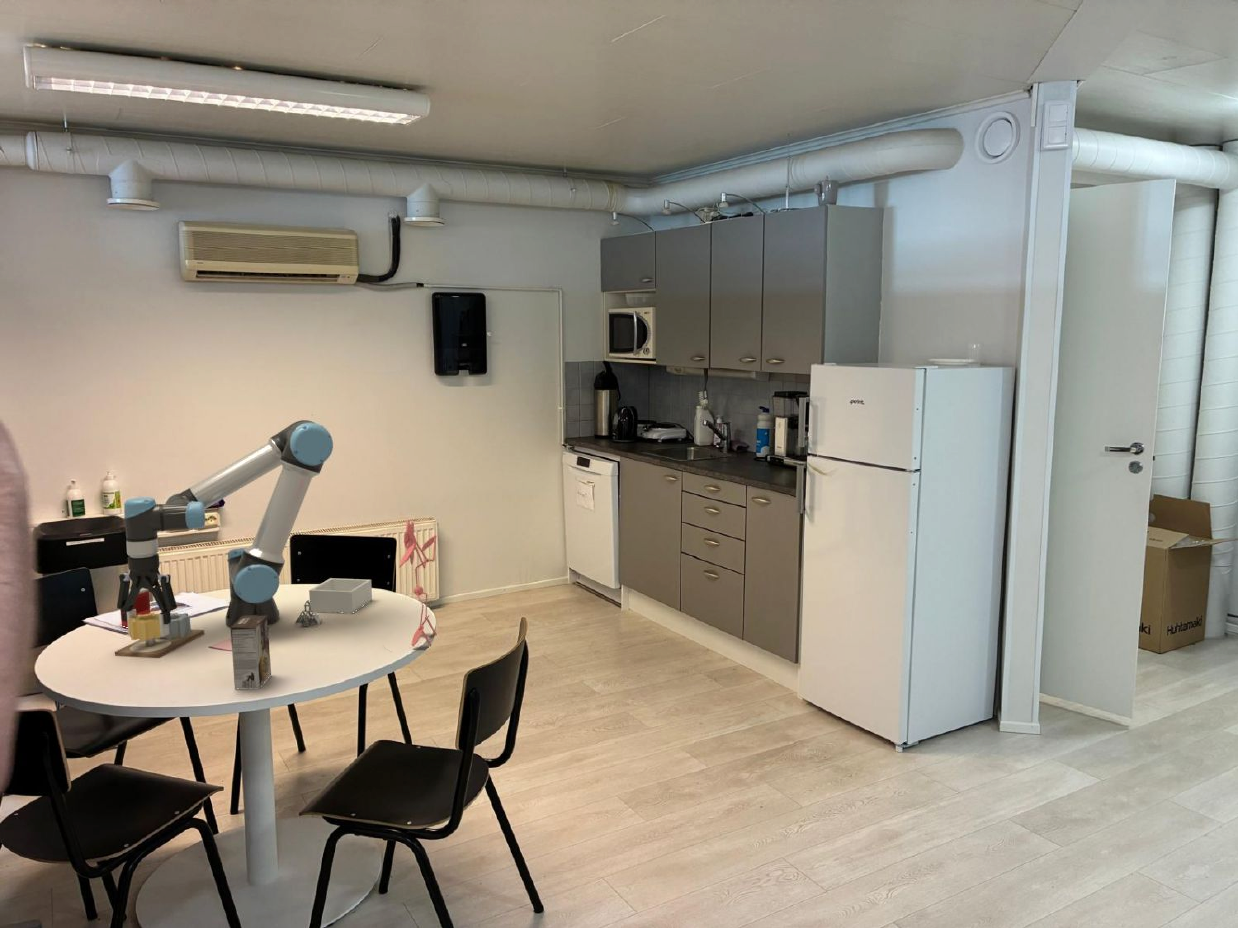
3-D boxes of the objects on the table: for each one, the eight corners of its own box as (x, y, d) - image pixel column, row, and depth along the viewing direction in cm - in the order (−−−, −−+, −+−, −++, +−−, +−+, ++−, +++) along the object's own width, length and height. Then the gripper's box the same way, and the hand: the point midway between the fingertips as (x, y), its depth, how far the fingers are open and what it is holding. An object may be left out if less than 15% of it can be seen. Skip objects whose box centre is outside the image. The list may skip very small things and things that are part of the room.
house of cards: (281, 632, 256) (280, 606, 255) (294, 622, 265) (293, 598, 264) (311, 632, 256) (310, 607, 255) (323, 623, 264) (322, 598, 263)
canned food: (157, 620, 266) (154, 586, 264) (140, 629, 258) (137, 593, 257) (133, 620, 267) (130, 585, 265) (115, 628, 259) (112, 592, 257)
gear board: (204, 633, 254) (204, 629, 254) (158, 658, 234) (158, 653, 234) (163, 631, 256) (163, 627, 256) (115, 656, 236) (114, 651, 236)
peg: (157, 644, 242) (155, 622, 241) (151, 647, 239) (150, 625, 238) (149, 644, 242) (147, 622, 241) (143, 647, 240) (142, 625, 239)
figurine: (444, 625, 260) (440, 511, 256) (429, 656, 235) (425, 529, 230) (392, 626, 260) (387, 511, 255) (371, 657, 234) (366, 530, 229)
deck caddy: (372, 600, 286) (371, 579, 285) (352, 613, 272) (351, 592, 271) (331, 598, 288) (330, 578, 287) (310, 611, 274) (309, 590, 273)
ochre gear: (174, 630, 244) (173, 613, 243) (152, 641, 235) (151, 623, 234) (145, 629, 245) (143, 611, 244) (122, 639, 236) (121, 621, 236)
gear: (197, 629, 254) (195, 609, 253) (177, 640, 245) (175, 619, 244) (169, 628, 255) (167, 608, 254) (148, 638, 246) (146, 617, 245)
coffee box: (246, 676, 222) (242, 615, 219) (272, 675, 222) (268, 614, 220) (233, 690, 213) (229, 626, 210) (260, 689, 213) (256, 626, 211)
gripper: (188, 552, 239) (193, 631, 242) (116, 549, 242) (122, 627, 245) (170, 559, 232) (176, 640, 235) (97, 556, 235) (103, 636, 238)
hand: (148, 634), depth 240 cm, fingers closed on ochre gear, 9 cm apart
